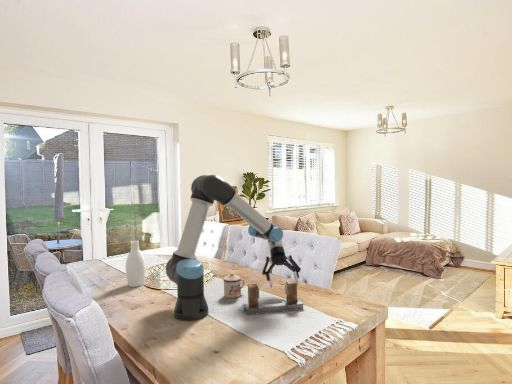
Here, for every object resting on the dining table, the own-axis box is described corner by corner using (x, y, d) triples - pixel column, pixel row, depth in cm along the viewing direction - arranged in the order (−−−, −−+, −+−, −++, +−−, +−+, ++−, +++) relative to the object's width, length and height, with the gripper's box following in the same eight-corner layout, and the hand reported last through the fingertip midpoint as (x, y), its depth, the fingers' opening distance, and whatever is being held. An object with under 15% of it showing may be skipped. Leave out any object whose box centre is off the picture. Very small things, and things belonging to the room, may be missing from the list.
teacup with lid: (229, 299, 166) (229, 276, 166) (220, 295, 173) (219, 272, 173) (249, 294, 173) (248, 272, 173) (239, 290, 181) (239, 268, 180)
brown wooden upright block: (287, 307, 154) (287, 283, 154) (285, 304, 158) (284, 281, 158) (297, 306, 155) (296, 283, 155) (294, 303, 159) (294, 280, 159)
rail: (245, 314, 147) (245, 309, 147) (243, 308, 154) (243, 303, 154) (304, 309, 152) (304, 303, 152) (299, 303, 159) (299, 298, 159)
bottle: (147, 286, 192) (145, 242, 191) (126, 288, 188) (124, 243, 187) (145, 280, 202) (144, 239, 201) (126, 283, 198) (124, 240, 197)
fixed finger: (249, 311, 151) (249, 287, 151) (248, 307, 155) (247, 284, 155) (259, 310, 152) (259, 286, 152) (258, 306, 156) (257, 283, 156)
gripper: (297, 252, 187) (306, 286, 172) (253, 254, 182) (259, 290, 168) (300, 244, 181) (310, 279, 167) (255, 246, 177) (261, 283, 162)
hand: (284, 285), depth 167 cm, fingers open, 13 cm apart
